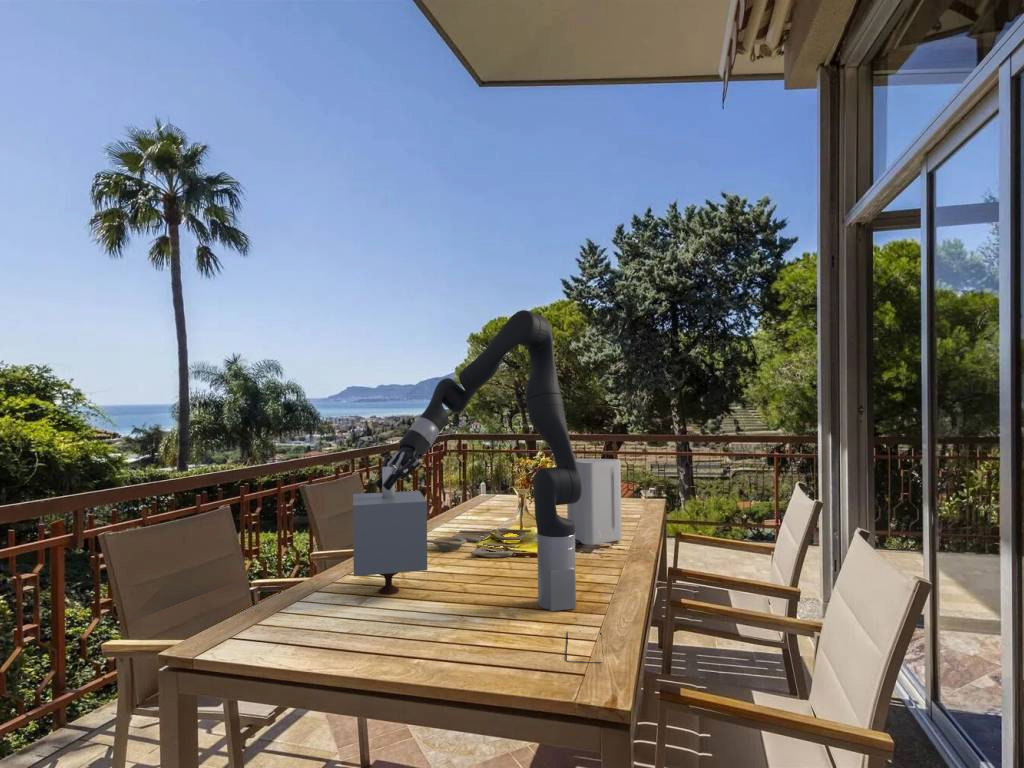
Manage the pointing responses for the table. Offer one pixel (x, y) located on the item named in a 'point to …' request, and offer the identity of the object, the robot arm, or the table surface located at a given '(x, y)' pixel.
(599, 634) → the table surface
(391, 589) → the ice cream bowl
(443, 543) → the tableware set
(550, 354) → the robot arm
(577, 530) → the grey tall block
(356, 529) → the cover
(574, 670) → the table surface
